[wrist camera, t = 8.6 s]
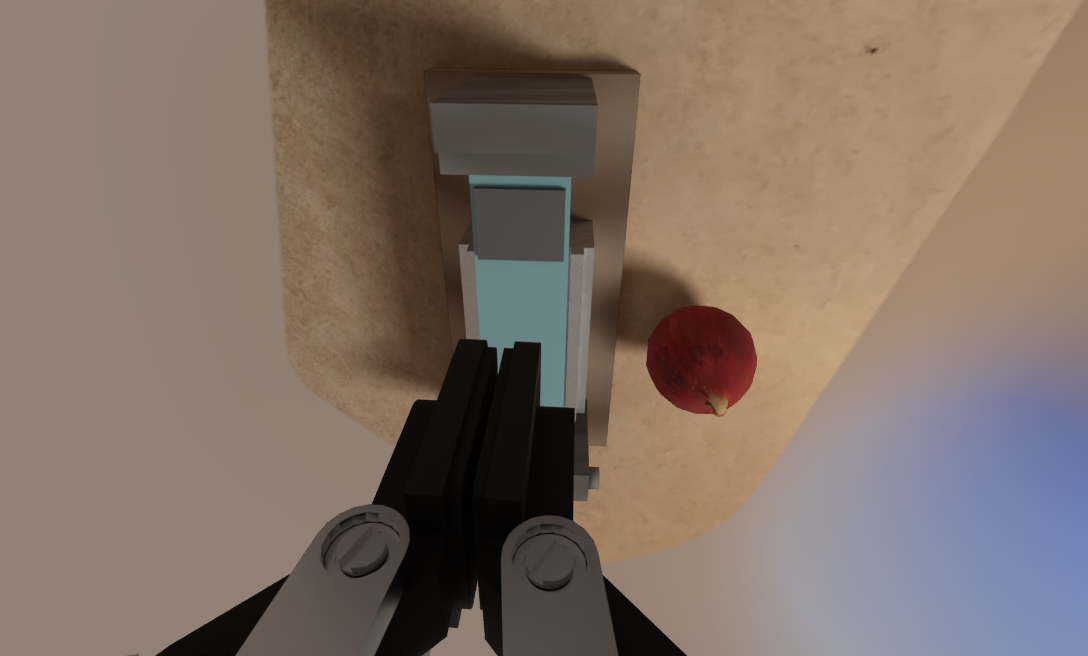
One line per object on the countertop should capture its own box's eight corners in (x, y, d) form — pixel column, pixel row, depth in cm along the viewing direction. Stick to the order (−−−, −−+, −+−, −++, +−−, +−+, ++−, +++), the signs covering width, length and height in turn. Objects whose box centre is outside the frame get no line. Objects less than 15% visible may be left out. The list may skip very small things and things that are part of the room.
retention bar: (473, 166, 21) (467, 175, 20) (571, 169, 21) (571, 177, 20) (492, 479, 31) (489, 496, 30) (561, 482, 30) (560, 500, 29)
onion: (624, 344, 33) (636, 430, 26) (669, 268, 30) (695, 342, 24) (704, 374, 34) (736, 466, 27) (755, 303, 31) (805, 385, 24)
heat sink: (472, 217, 28) (455, 251, 24) (592, 220, 28) (595, 255, 24) (482, 370, 33) (469, 417, 29) (583, 374, 33) (584, 422, 29)
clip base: (431, 68, 26) (364, 95, 18) (637, 71, 25) (665, 99, 17) (464, 425, 38) (434, 539, 29) (605, 431, 37) (612, 548, 29)
